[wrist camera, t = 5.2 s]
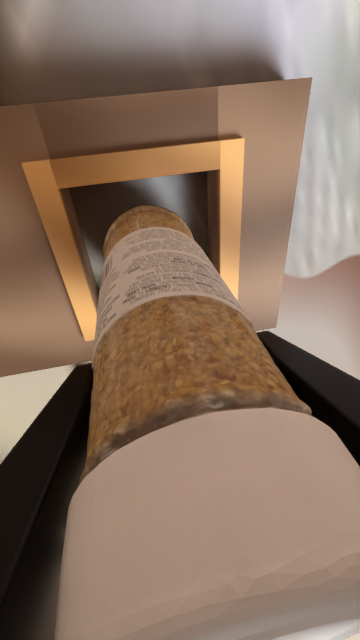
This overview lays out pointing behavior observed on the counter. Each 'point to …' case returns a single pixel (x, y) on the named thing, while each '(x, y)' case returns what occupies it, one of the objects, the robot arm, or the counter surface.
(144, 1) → the counter surface
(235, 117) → the rail
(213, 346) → the sprinkles bottle
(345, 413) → the robot arm
